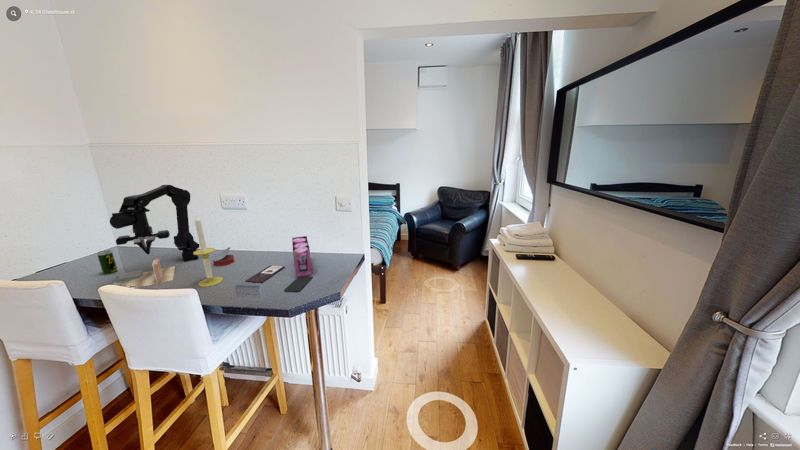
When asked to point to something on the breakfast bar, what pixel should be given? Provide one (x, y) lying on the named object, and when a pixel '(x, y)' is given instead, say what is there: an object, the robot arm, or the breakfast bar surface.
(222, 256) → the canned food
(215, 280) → the candle
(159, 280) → the terracotta tile
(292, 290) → the phone
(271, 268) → the chocolate bar
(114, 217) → the robot arm
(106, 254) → the guarana soda can
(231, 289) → the breakfast bar surface
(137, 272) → the slate tile
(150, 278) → the oak board
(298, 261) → the gum box
